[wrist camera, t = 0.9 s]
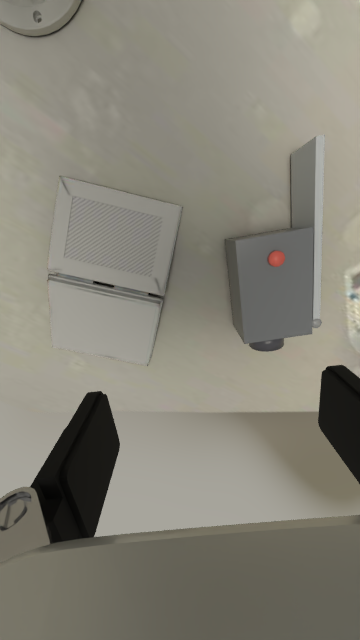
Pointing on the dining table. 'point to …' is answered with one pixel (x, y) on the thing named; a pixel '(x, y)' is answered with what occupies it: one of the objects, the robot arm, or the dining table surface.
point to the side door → (310, 205)
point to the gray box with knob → (271, 286)
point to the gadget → (108, 270)
